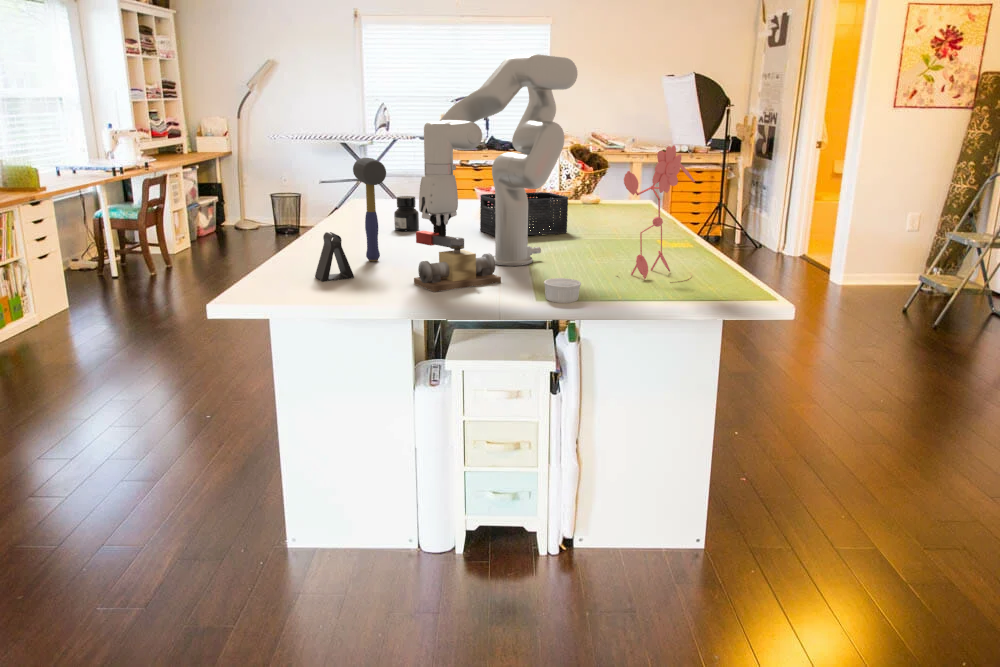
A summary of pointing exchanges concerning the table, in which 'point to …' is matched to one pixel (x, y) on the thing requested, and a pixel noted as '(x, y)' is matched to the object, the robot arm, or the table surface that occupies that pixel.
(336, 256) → the phone stand
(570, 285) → the ramekin
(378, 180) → the rubber mallet
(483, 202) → the storage bin
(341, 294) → the table surface
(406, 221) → the ink bottle
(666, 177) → the figurine
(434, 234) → the lever
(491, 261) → the valve manifold
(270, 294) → the table surface
